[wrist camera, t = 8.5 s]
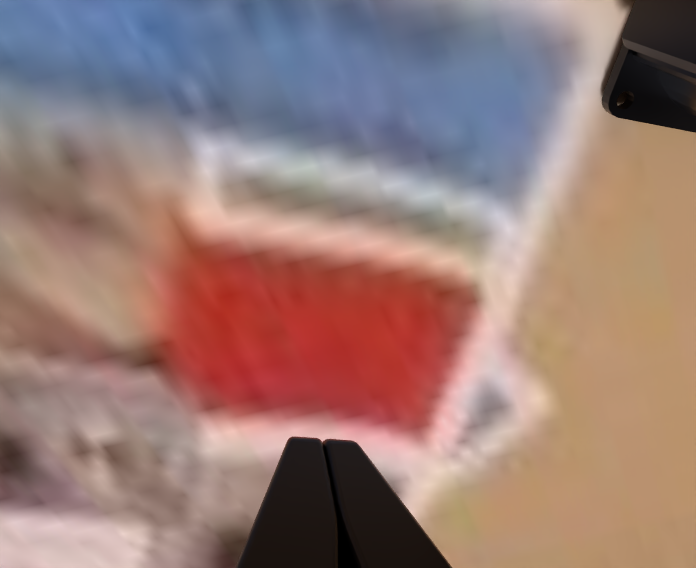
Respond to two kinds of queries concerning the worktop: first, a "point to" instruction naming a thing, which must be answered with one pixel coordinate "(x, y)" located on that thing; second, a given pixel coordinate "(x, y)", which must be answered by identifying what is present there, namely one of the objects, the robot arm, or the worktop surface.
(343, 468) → the robot arm
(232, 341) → the worktop surface
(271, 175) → the worktop surface
